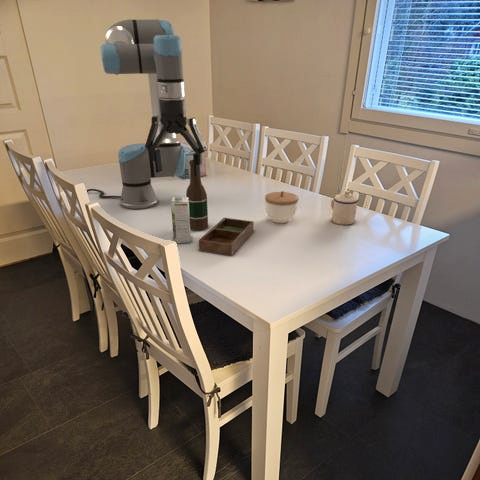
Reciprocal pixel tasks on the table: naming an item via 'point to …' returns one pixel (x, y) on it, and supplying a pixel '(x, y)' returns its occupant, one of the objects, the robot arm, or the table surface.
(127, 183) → the robot arm
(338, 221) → the teacup with lid
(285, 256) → the table surface
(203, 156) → the soda box
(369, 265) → the table surface
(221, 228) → the tray
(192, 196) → the beer bottle
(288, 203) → the lidded bowl
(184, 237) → the syrup box
